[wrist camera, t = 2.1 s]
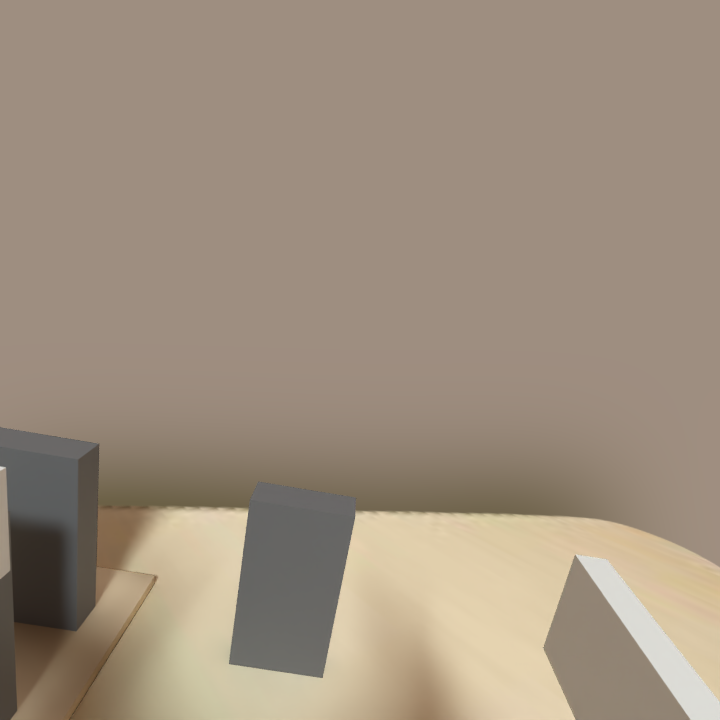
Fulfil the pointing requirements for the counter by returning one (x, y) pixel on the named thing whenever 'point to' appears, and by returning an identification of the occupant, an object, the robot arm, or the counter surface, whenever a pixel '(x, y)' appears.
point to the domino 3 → (290, 578)
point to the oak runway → (74, 648)
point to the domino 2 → (51, 526)
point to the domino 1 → (7, 645)
